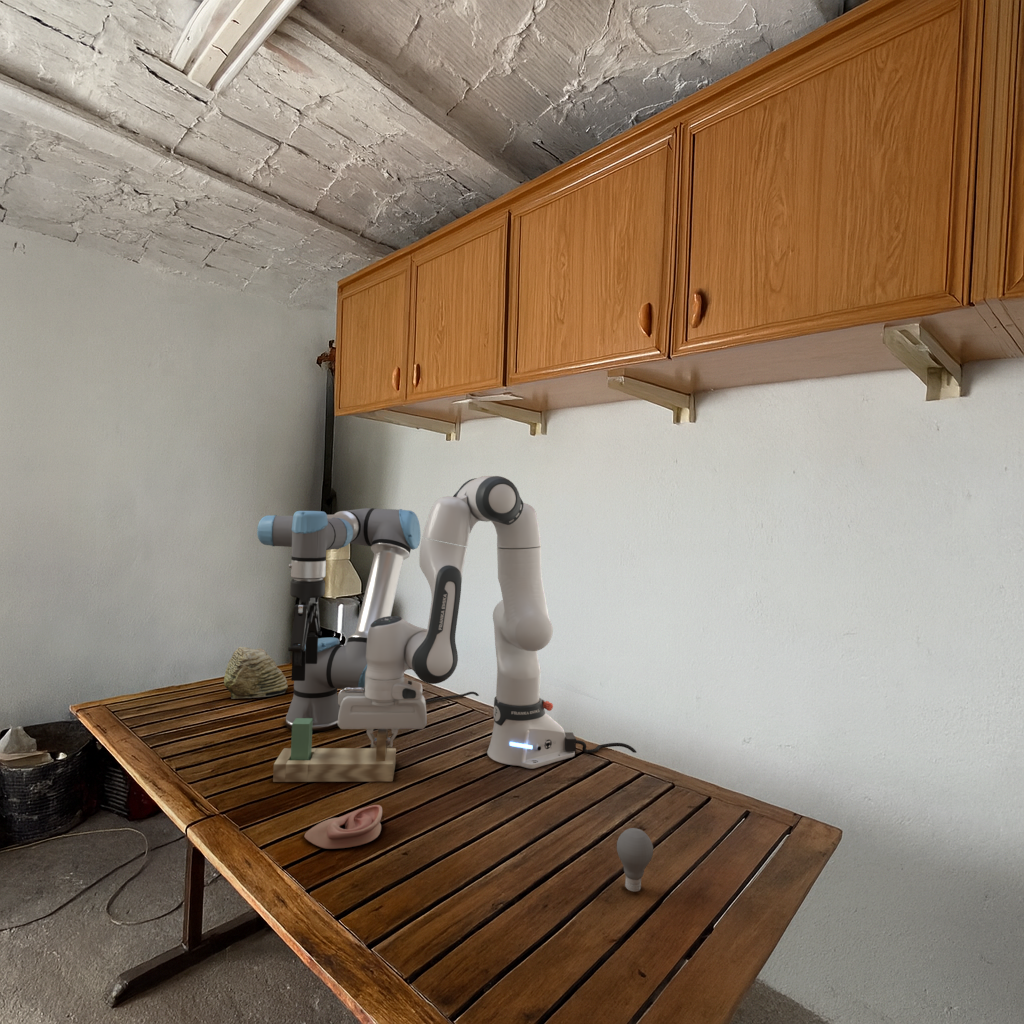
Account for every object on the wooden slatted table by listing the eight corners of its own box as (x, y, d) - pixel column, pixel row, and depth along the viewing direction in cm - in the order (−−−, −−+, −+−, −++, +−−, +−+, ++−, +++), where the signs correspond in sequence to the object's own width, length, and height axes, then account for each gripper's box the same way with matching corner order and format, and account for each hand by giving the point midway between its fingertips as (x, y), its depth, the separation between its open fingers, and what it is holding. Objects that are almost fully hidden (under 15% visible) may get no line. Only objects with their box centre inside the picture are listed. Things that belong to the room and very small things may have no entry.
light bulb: (610, 878, 109) (613, 821, 108) (645, 878, 109) (647, 821, 109) (619, 901, 103) (622, 840, 103) (655, 900, 103) (658, 839, 103)
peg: (293, 769, 146) (295, 718, 146) (310, 769, 147) (312, 718, 146) (290, 776, 142) (292, 723, 142) (307, 776, 143) (309, 723, 143)
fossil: (219, 695, 195) (221, 647, 195) (279, 686, 207) (281, 640, 207) (229, 703, 188) (231, 653, 188) (290, 693, 201) (292, 646, 200)
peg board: (272, 782, 140) (274, 737, 139) (283, 764, 148) (284, 722, 148) (392, 781, 142) (394, 737, 142) (395, 764, 151) (397, 723, 151)
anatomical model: (296, 822, 115) (327, 794, 126) (295, 844, 115) (326, 814, 126) (364, 833, 112) (389, 803, 124) (363, 855, 112) (388, 823, 124)
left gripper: (303, 571, 156) (300, 657, 156) (276, 586, 131) (273, 688, 132) (334, 572, 157) (331, 657, 157) (313, 587, 132) (310, 688, 132)
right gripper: (335, 691, 142) (333, 752, 142) (427, 691, 144) (425, 752, 144) (340, 683, 148) (338, 741, 148) (428, 683, 150) (426, 741, 151)
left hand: (304, 671), depth 144 cm, fingers open, 13 cm apart
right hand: (382, 746), depth 146 cm, fingers closed on peg board, 2 cm apart
